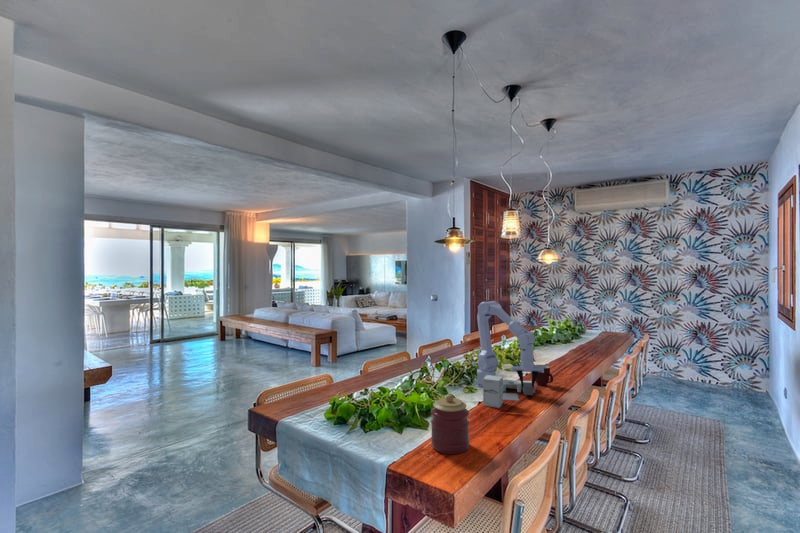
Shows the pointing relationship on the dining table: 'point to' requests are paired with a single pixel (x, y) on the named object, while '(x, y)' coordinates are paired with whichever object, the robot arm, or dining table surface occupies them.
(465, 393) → the dining table surface
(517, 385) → the socket bar
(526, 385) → the plug
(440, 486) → the dining table surface
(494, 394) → the supplement box
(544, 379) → the mug
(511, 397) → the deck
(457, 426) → the canister
